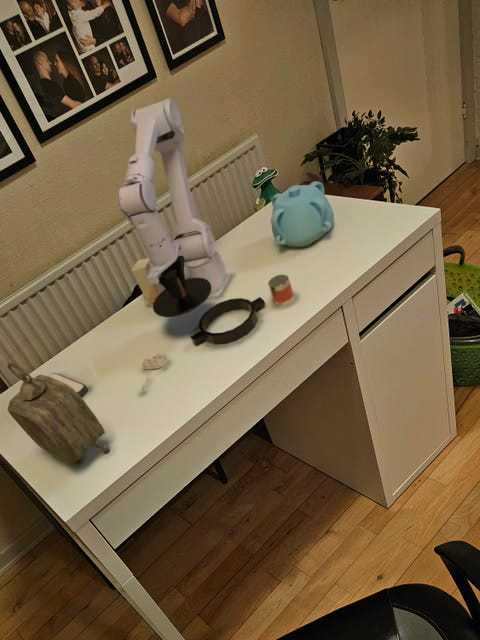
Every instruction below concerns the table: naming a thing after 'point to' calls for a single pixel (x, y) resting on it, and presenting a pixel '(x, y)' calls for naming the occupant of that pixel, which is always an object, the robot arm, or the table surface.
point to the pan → (234, 333)
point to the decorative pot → (301, 215)
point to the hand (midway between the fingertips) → (180, 292)
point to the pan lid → (182, 298)
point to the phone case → (70, 383)
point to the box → (140, 275)
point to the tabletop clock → (55, 416)
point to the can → (281, 290)
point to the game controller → (154, 363)
